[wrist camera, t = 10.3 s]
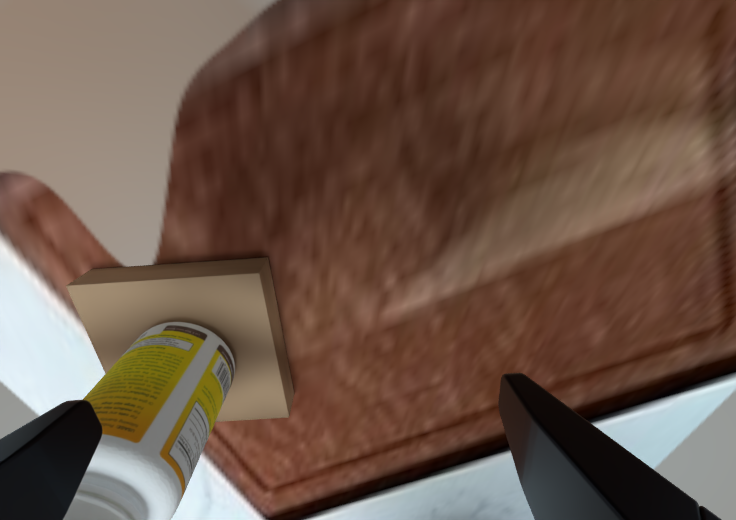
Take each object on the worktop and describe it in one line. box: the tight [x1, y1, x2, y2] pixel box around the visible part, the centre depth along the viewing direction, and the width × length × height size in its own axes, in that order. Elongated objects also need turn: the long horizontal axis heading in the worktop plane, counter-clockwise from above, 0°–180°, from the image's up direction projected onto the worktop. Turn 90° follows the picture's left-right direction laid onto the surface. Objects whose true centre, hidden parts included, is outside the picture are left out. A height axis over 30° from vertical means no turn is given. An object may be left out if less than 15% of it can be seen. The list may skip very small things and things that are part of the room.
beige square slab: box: [66, 257, 294, 422], centre depth 22 cm, size 10×10×2 cm
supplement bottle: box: [63, 322, 235, 520], centre depth 17 cm, size 6×6×10 cm
